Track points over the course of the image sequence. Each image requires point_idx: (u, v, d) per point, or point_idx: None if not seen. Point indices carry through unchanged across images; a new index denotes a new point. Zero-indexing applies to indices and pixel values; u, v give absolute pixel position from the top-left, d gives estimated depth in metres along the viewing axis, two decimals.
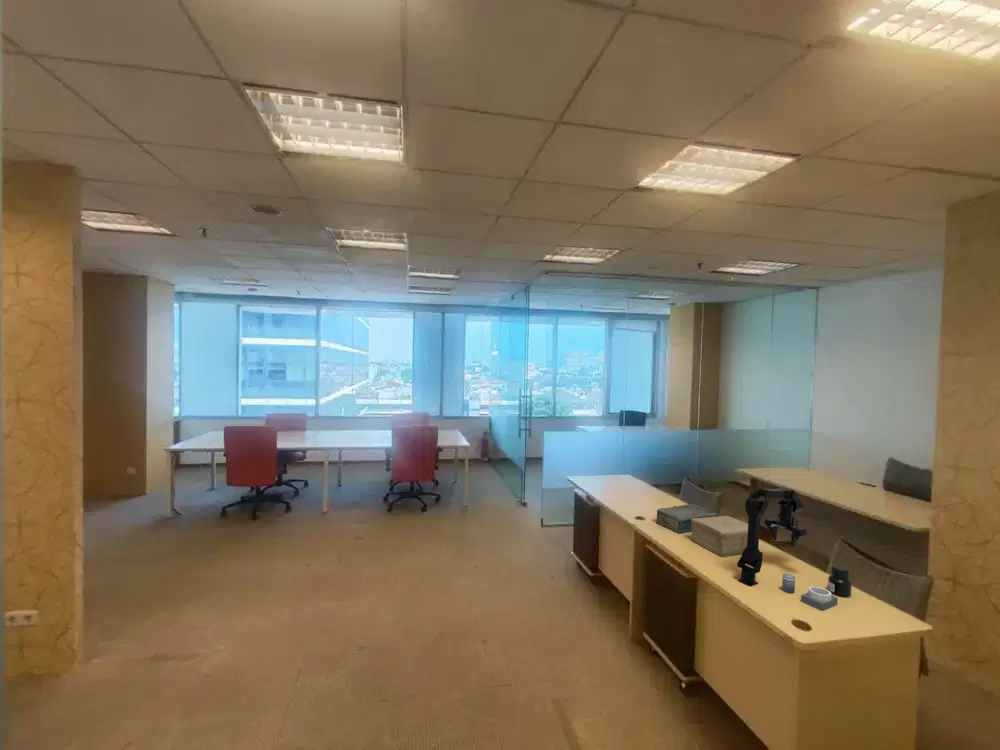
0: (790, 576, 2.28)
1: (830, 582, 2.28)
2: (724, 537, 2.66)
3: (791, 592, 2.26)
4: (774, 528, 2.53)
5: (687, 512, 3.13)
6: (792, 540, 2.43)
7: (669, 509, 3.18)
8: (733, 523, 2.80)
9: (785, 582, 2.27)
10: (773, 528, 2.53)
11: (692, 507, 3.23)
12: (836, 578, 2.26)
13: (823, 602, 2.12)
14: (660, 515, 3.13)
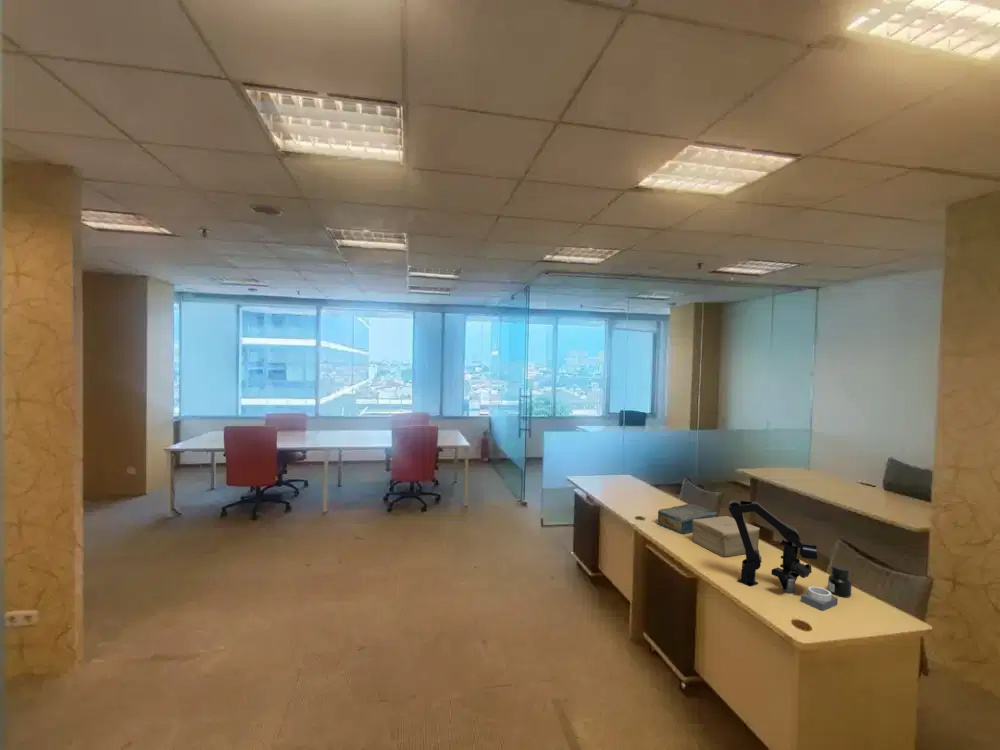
0: (790, 576, 2.28)
1: (830, 582, 2.28)
2: (726, 538, 2.65)
3: (791, 592, 2.26)
4: (791, 573, 2.30)
5: (688, 513, 3.12)
6: None
7: (670, 510, 3.17)
8: (734, 524, 2.80)
9: None
10: None
11: (691, 507, 3.23)
12: (836, 578, 2.26)
13: (823, 602, 2.12)
14: (662, 515, 3.11)
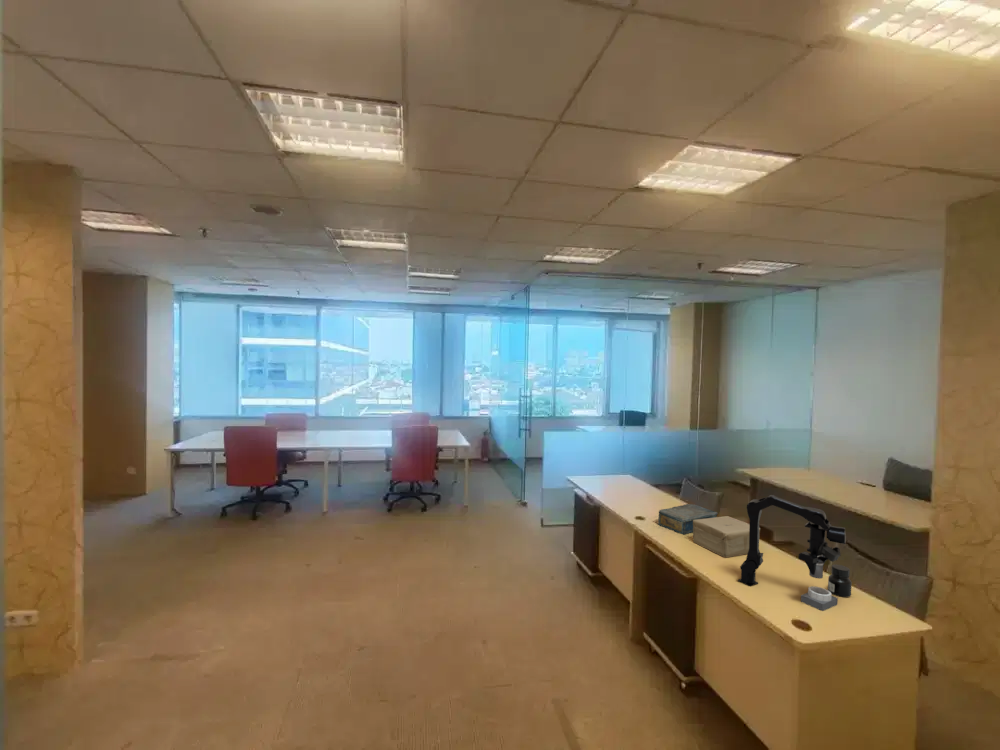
0: (818, 560, 2.18)
1: (830, 582, 2.28)
2: (728, 538, 2.64)
3: (819, 577, 2.17)
4: (819, 557, 2.21)
5: (688, 513, 3.12)
6: None
7: (670, 510, 3.16)
8: (735, 524, 2.80)
9: None
10: (817, 556, 2.22)
11: (691, 507, 3.23)
12: (836, 578, 2.26)
13: (823, 602, 2.12)
14: (662, 516, 3.11)
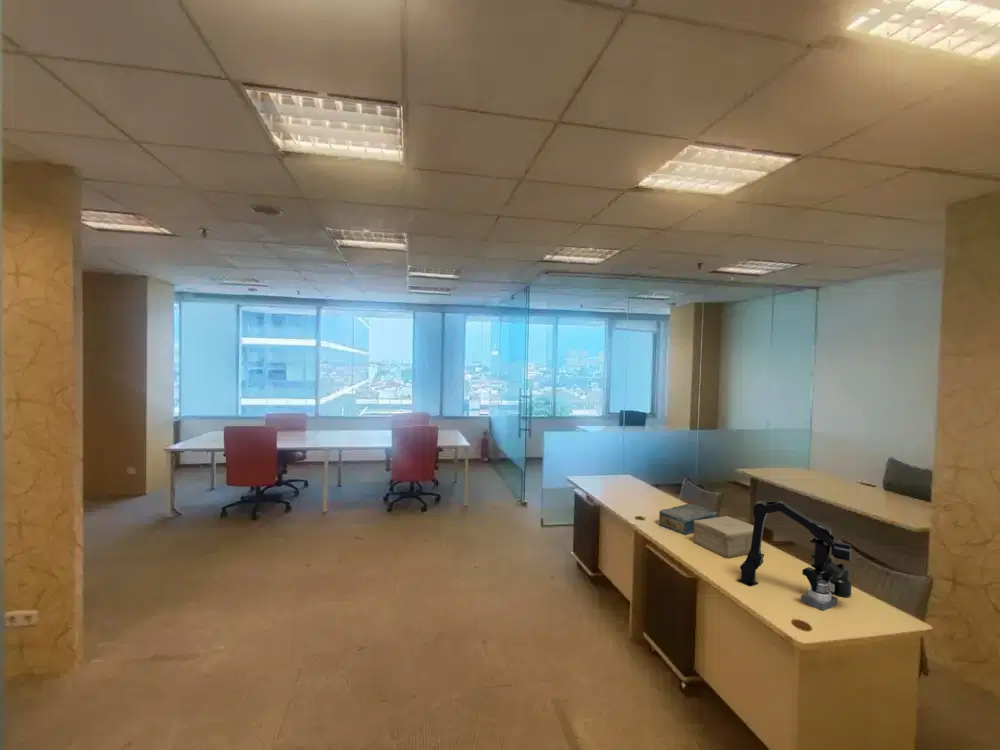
0: (821, 581, 2.17)
1: (830, 582, 2.28)
2: (729, 538, 2.64)
3: None
4: (824, 572, 2.20)
5: (689, 513, 3.12)
6: None
7: (670, 510, 3.16)
8: (736, 524, 2.79)
9: None
10: (822, 571, 2.21)
11: (690, 507, 3.23)
12: (836, 578, 2.26)
13: (823, 602, 2.12)
14: (663, 516, 3.10)
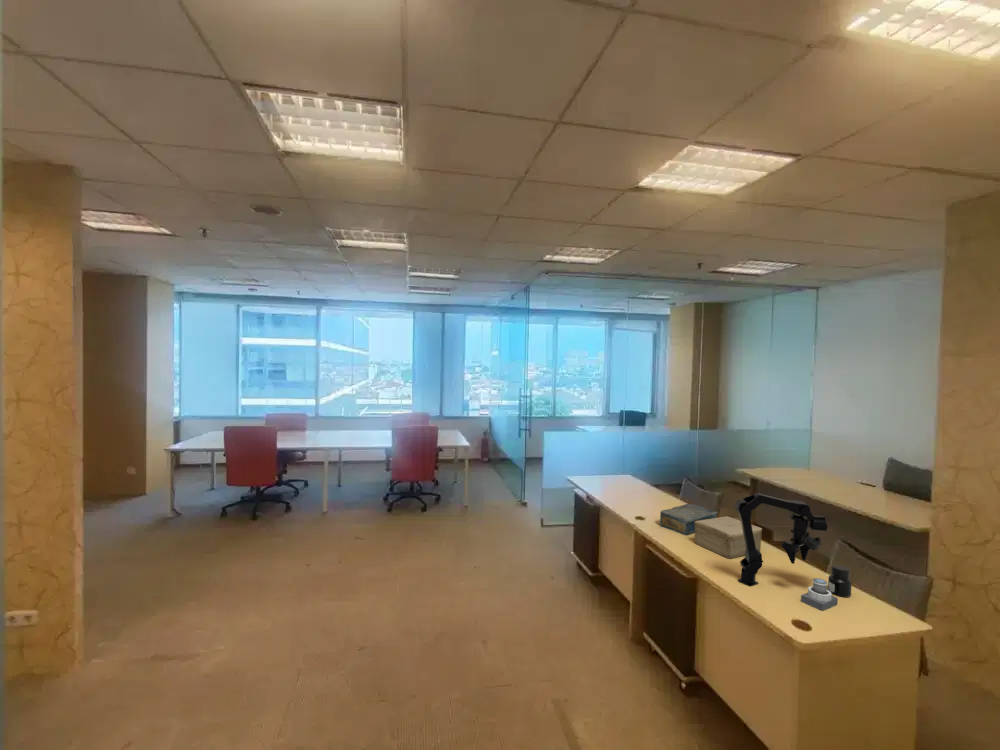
0: (821, 581, 2.17)
1: (830, 582, 2.28)
2: (732, 539, 2.63)
3: None
4: (803, 546, 2.34)
5: (689, 513, 3.12)
6: None
7: (671, 510, 3.15)
8: (736, 524, 2.79)
9: (816, 587, 2.17)
10: (802, 545, 2.35)
11: (690, 507, 3.23)
12: (836, 578, 2.26)
13: (823, 602, 2.12)
14: (664, 517, 3.09)
